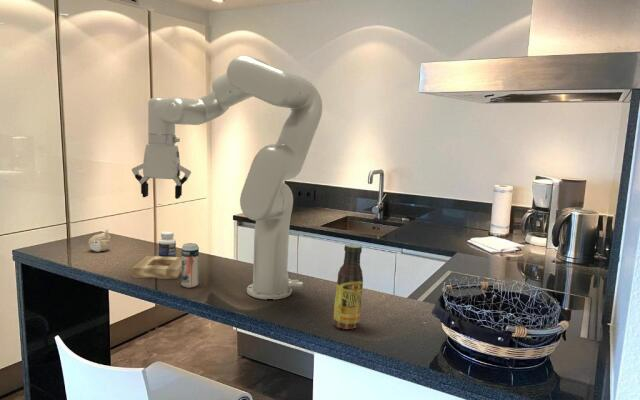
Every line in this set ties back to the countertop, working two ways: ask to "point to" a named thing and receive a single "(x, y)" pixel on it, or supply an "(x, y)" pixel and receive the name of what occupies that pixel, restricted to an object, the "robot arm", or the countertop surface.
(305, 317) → the countertop surface
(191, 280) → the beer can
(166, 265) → the socket block
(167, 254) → the pill bottle
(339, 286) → the sauce bottle
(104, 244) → the garlic bulb
